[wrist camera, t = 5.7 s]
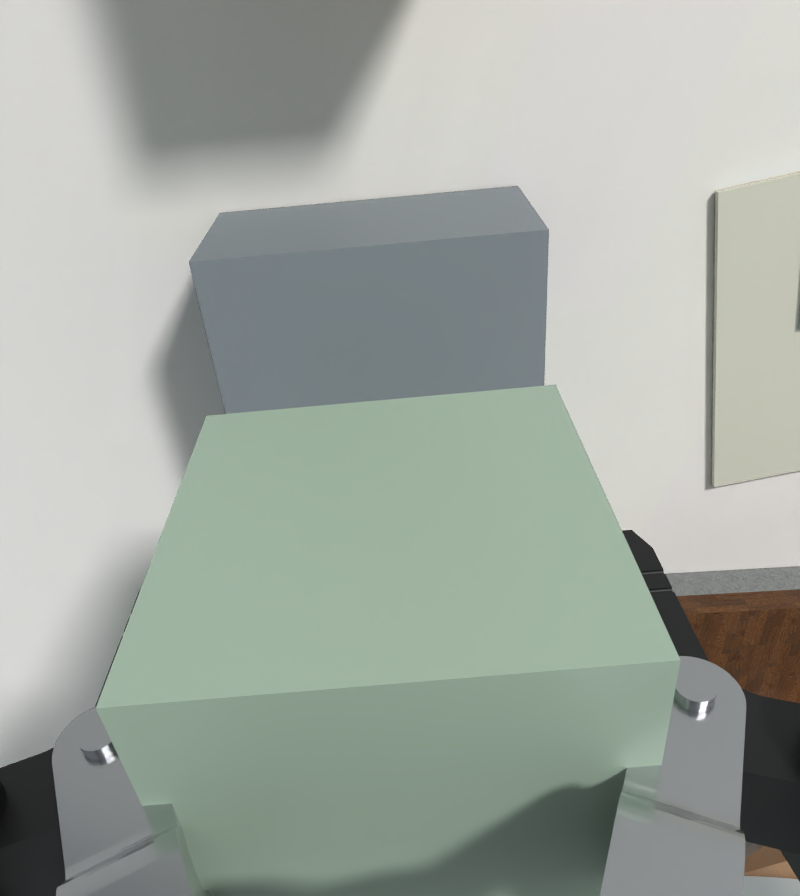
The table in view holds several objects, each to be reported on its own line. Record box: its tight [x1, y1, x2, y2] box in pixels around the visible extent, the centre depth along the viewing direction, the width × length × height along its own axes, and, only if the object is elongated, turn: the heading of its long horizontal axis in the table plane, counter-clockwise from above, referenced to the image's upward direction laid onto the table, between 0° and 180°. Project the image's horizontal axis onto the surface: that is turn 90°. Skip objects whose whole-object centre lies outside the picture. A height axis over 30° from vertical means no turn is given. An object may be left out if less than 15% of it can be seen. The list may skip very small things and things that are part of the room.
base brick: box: [189, 186, 549, 414], centre depth 20 cm, size 8×8×4 cm
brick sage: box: [96, 385, 681, 896], centre depth 12 cm, size 6×6×6 cm
